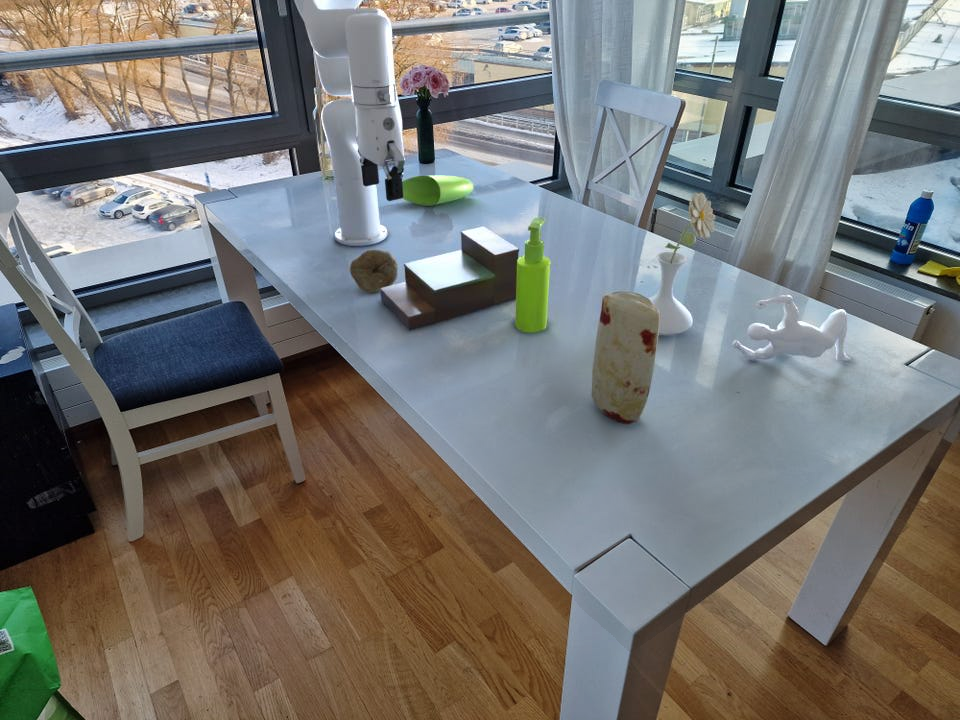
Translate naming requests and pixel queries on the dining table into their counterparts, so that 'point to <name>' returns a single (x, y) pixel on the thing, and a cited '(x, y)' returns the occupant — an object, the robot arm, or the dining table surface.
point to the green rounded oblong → (435, 189)
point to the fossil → (374, 270)
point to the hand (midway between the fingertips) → (382, 191)
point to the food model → (624, 355)
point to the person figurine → (797, 334)
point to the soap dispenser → (532, 283)
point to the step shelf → (455, 281)
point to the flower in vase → (671, 310)
